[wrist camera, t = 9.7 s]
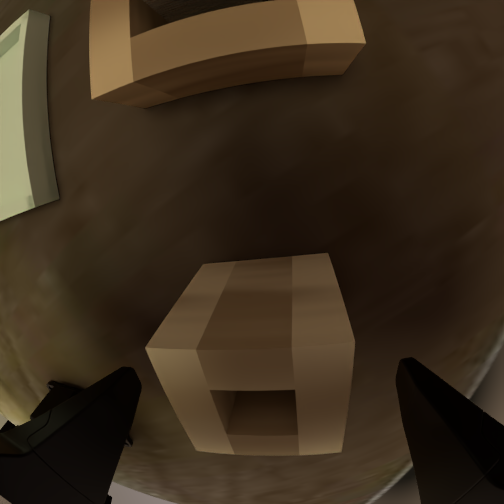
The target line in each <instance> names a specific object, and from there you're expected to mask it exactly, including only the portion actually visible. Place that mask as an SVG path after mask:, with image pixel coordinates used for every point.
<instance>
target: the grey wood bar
mask: <svg viewBox="0 0 504 504" xmlns="http://www.w3.org/2000/svg"><path fill="white" fill-rule="evenodd" d="M143 1H144V2H145V3H146V4H148V5H149V6H150V7H151V8H152V9H154V10H155V11H156V12H157V13H158V14H159V15H161V16H162V17H163V18H164V19H165V20H166V21H168V22H169V23H172V22H175V21H178V20H182V19H185V18H188V17H192V16H196V15H199V14H203V13H207V12H211V11H216V10H220V9H225V8H229V7H234V6H240V5H246V4H252V3H258V2H262V0H143Z"/></svg>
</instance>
